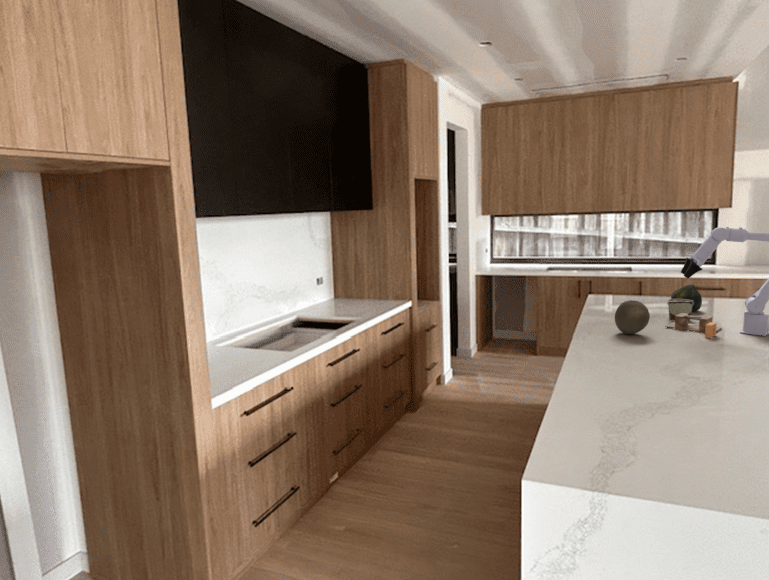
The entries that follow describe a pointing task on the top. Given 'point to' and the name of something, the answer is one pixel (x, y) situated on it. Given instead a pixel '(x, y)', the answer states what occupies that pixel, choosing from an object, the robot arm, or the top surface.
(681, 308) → the food container
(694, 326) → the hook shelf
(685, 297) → the squash
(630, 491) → the top surface
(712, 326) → the orange step-cut beam
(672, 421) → the top surface
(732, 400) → the top surface
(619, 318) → the cantaloupe
